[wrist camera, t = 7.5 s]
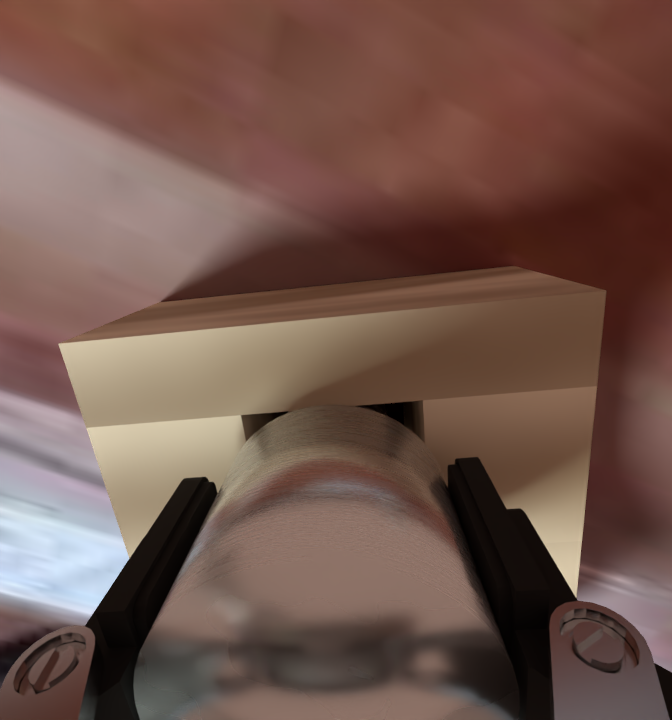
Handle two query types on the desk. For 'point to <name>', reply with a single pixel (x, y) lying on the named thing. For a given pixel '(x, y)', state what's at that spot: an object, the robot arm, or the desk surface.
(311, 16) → the desk surface
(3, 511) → the desk surface
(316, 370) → the block
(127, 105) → the desk surface
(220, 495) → the light bulb
